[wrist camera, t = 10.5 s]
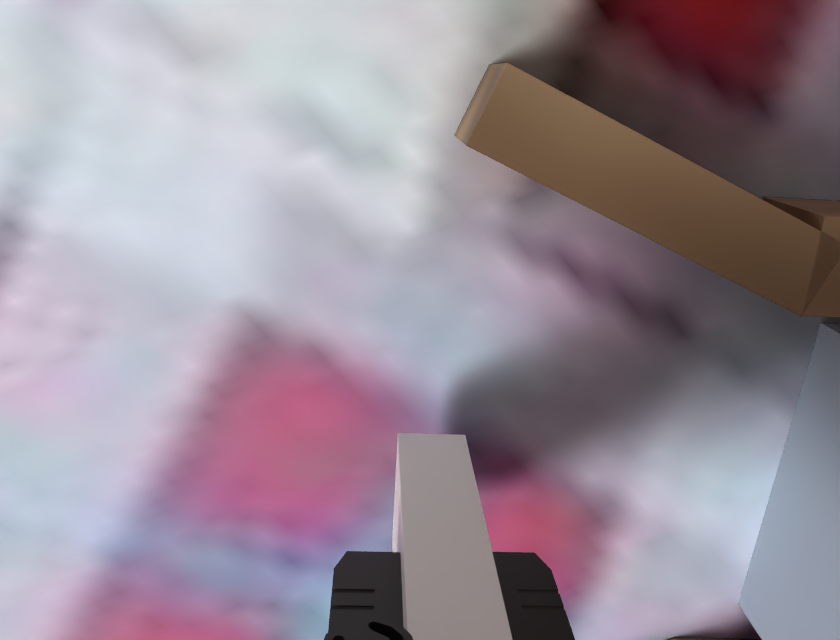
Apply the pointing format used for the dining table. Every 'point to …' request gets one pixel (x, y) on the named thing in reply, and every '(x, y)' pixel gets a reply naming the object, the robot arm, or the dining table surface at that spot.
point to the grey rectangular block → (803, 515)
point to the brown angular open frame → (659, 192)
